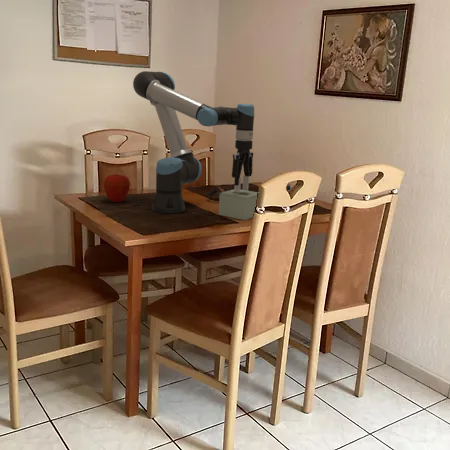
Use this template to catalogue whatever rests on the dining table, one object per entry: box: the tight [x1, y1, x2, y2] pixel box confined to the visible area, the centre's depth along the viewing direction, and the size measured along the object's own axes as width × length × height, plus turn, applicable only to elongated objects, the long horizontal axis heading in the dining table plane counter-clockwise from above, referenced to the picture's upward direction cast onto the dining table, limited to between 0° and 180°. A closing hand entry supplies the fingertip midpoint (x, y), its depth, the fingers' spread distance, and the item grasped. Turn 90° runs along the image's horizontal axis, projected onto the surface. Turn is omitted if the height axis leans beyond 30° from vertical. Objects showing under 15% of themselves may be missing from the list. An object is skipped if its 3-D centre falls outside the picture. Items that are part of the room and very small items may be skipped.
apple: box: [103, 172, 131, 203], centre depth 254 cm, size 12×12×14 cm
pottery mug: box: [207, 186, 228, 200], centre depth 268 cm, size 12×10×8 cm
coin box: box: [218, 188, 259, 221], centre depth 241 cm, size 14×14×10 cm
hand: (241, 191), depth 239 cm, fingers open, 6 cm apart
